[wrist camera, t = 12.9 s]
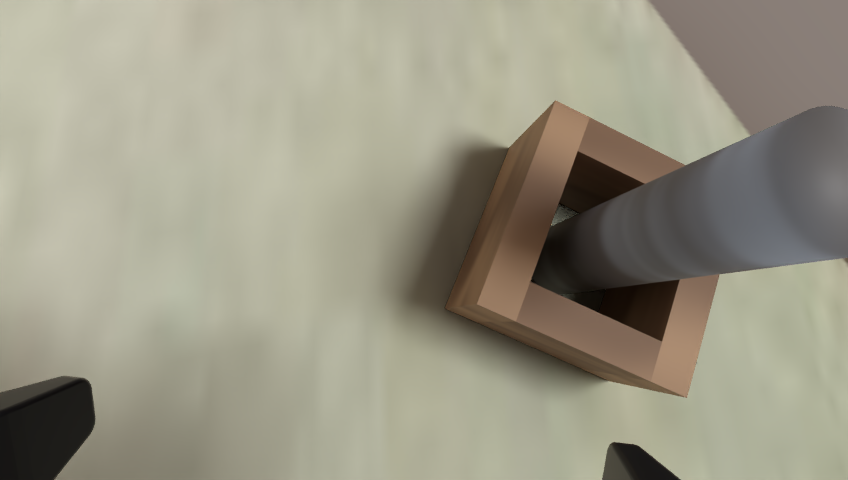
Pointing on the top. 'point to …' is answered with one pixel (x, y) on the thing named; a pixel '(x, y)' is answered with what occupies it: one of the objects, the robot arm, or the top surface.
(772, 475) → the top surface
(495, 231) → the walnut square holder
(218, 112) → the top surface
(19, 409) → the robot arm
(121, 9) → the top surface
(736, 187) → the slate dowel
